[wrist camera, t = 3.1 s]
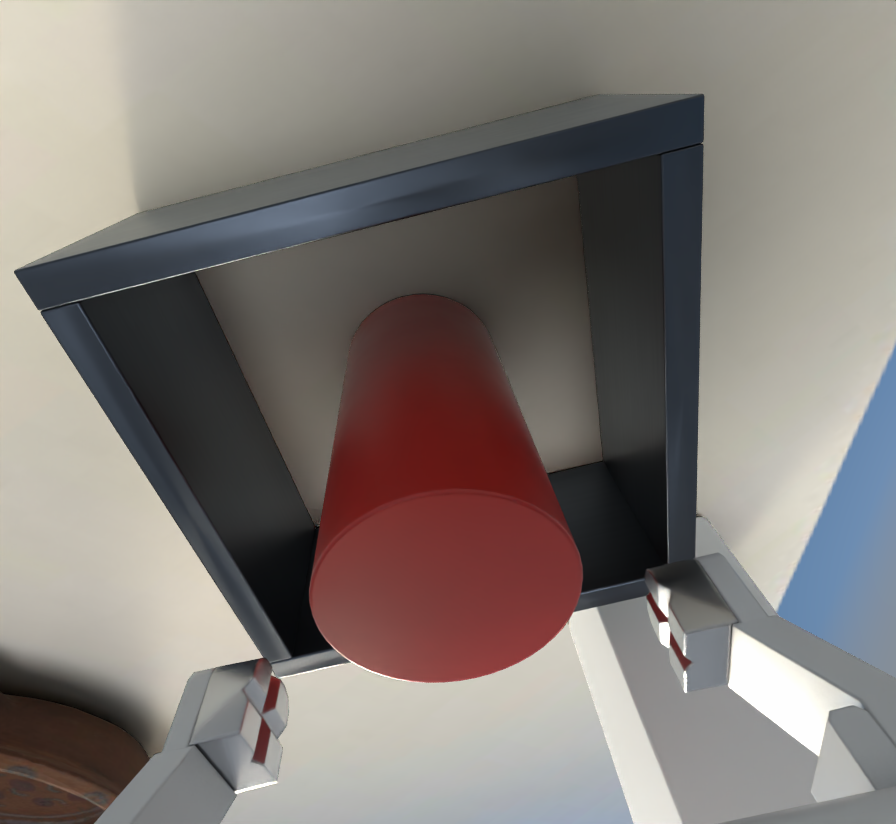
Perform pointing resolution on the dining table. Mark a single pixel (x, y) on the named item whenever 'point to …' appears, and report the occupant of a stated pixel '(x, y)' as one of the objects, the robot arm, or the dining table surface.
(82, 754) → the dish
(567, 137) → the open box
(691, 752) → the milk carton
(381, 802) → the dining table surface
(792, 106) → the dining table surface
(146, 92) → the dining table surface
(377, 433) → the can
